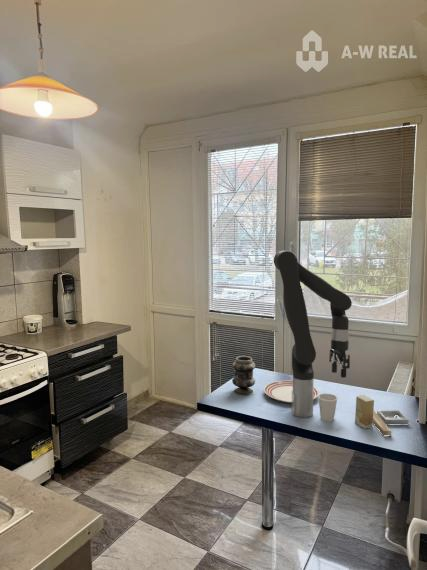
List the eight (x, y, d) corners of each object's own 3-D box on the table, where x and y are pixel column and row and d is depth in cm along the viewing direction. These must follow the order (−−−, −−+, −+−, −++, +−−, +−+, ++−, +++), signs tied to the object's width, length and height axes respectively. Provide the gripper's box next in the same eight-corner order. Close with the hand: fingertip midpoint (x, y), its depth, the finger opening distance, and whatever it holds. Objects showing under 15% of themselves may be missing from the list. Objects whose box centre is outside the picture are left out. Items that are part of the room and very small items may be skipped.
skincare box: (354, 422, 170) (355, 395, 169) (362, 421, 171) (363, 394, 170) (365, 429, 164) (366, 401, 163) (373, 427, 165) (374, 399, 164)
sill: (383, 436, 157) (383, 430, 157) (366, 415, 177) (366, 409, 177) (391, 436, 157) (391, 431, 157) (373, 415, 177) (373, 409, 177)
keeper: (385, 425, 167) (385, 419, 167) (377, 415, 177) (377, 410, 177) (408, 425, 167) (408, 420, 167) (398, 415, 177) (399, 410, 176)
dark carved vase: (259, 393, 204) (259, 359, 202) (239, 397, 198) (239, 362, 196) (247, 385, 215) (247, 353, 213) (228, 389, 209) (228, 356, 207)
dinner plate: (324, 407, 187) (325, 400, 186) (267, 407, 187) (267, 400, 187) (311, 386, 214) (311, 380, 213) (261, 386, 214) (261, 380, 214)
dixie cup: (320, 422, 170) (321, 400, 169) (315, 414, 178) (315, 393, 177) (339, 422, 170) (340, 400, 169) (333, 414, 178) (334, 393, 177)
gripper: (324, 336, 182) (323, 371, 182) (339, 341, 168) (338, 379, 168) (339, 336, 183) (338, 370, 183) (355, 341, 169) (354, 378, 169)
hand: (338, 374), depth 176 cm, fingers open, 8 cm apart
